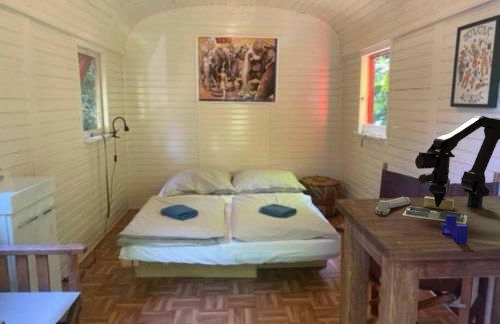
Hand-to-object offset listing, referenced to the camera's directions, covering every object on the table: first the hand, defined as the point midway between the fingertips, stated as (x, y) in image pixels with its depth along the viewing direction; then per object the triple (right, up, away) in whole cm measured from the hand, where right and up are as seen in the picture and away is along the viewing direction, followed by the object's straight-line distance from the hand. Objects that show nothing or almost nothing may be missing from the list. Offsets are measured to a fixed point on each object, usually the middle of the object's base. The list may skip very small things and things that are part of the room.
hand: (438, 204), depth 159 cm
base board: (-7, -4, -11) cm, 13 cm away
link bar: (0, -3, 0) cm, 3 cm away
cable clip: (-11, -8, -31) cm, 34 cm away
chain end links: (-7, -3, -11) cm, 13 cm away
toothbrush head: (-19, -3, 0) cm, 19 cm away
